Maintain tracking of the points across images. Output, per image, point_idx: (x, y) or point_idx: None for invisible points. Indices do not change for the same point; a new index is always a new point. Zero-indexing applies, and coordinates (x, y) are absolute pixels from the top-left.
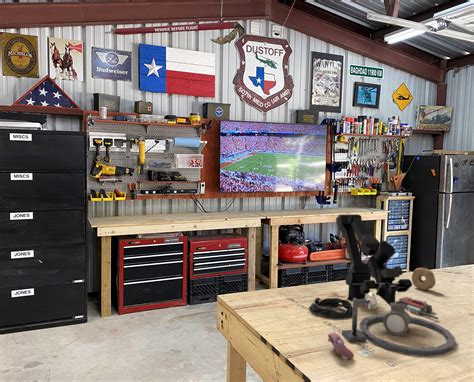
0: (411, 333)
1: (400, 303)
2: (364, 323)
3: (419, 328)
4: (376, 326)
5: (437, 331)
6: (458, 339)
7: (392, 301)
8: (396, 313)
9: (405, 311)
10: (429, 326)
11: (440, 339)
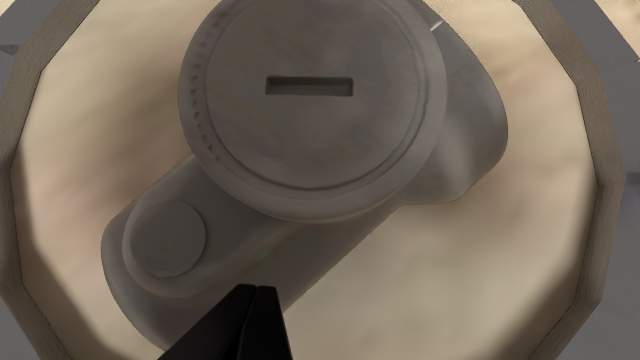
0: None
1: (251, 81)
2: (602, 325)
3: (102, 200)
4: (446, 323)
5: (24, 117)
6: (11, 2)
7: (244, 343)
8: (426, 10)
9: (121, 244)
10: (3, 190)
11: (122, 23)
